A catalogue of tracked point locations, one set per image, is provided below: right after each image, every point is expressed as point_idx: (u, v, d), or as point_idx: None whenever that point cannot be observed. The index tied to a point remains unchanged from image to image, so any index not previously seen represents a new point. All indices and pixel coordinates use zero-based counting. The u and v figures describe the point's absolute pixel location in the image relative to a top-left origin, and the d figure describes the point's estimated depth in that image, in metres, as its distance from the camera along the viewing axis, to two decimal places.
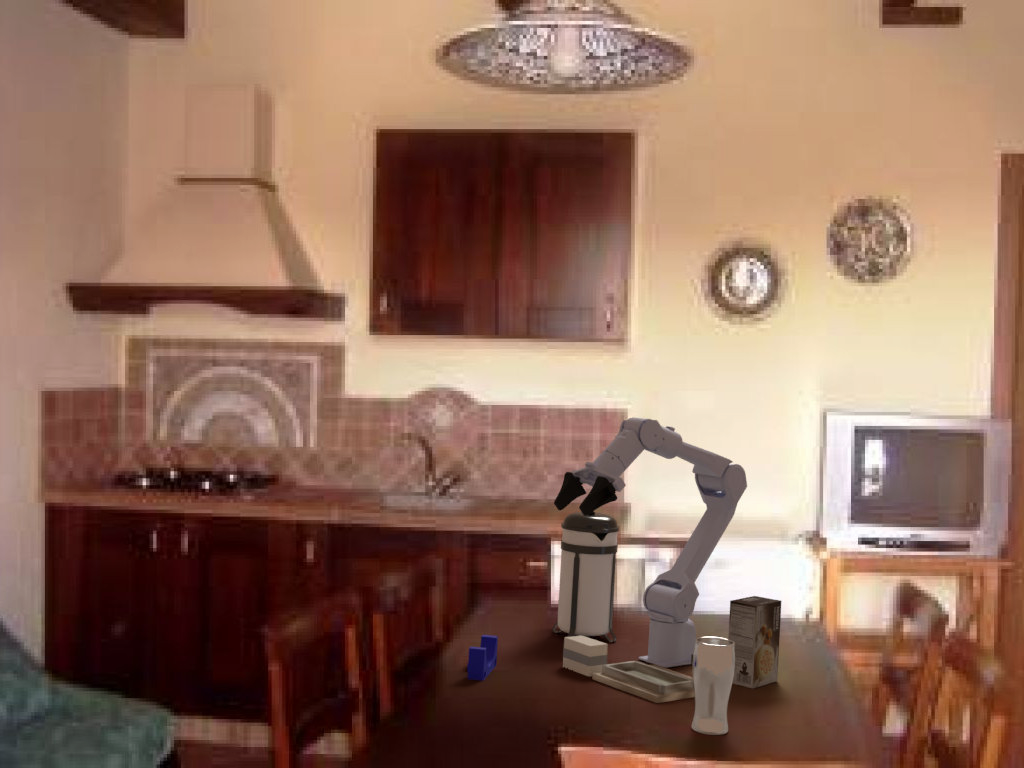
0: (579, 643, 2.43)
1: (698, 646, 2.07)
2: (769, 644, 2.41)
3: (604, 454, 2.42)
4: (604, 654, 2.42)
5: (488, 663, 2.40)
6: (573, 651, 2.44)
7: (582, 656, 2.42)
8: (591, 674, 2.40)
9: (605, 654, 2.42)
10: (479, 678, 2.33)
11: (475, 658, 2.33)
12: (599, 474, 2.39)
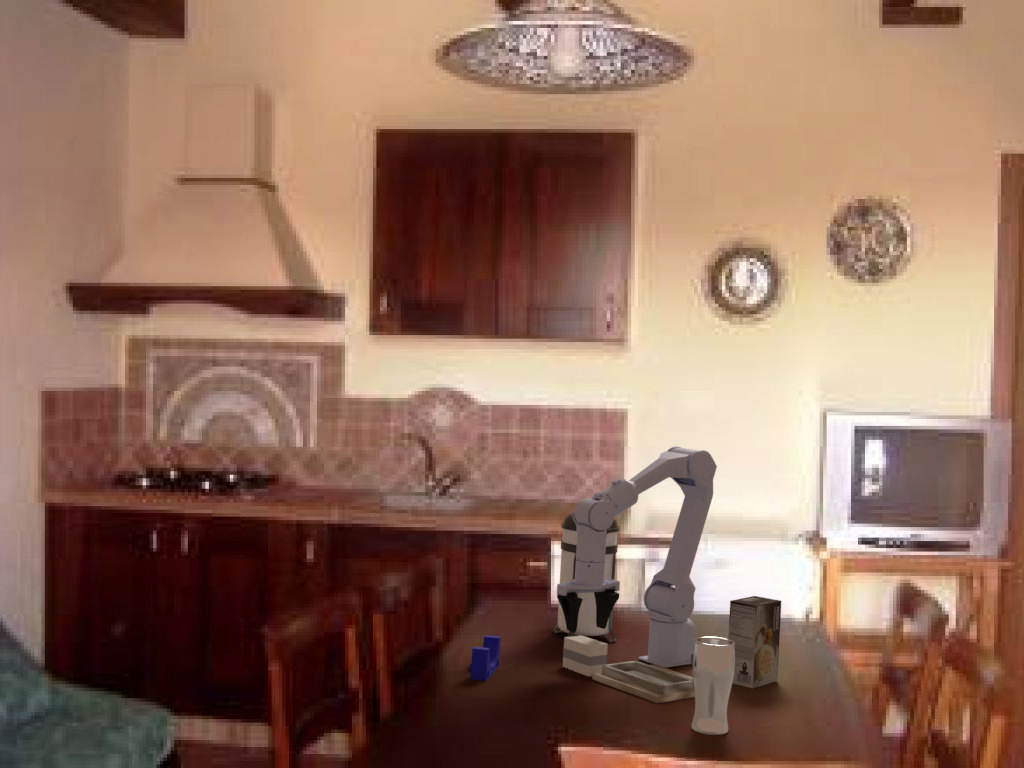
0: (579, 643, 2.43)
1: (698, 646, 2.07)
2: (769, 644, 2.41)
3: None
4: (604, 654, 2.42)
5: (491, 663, 2.40)
6: (573, 651, 2.44)
7: (582, 656, 2.42)
8: (591, 674, 2.40)
9: (605, 654, 2.42)
10: (482, 678, 2.33)
11: (478, 658, 2.33)
12: None
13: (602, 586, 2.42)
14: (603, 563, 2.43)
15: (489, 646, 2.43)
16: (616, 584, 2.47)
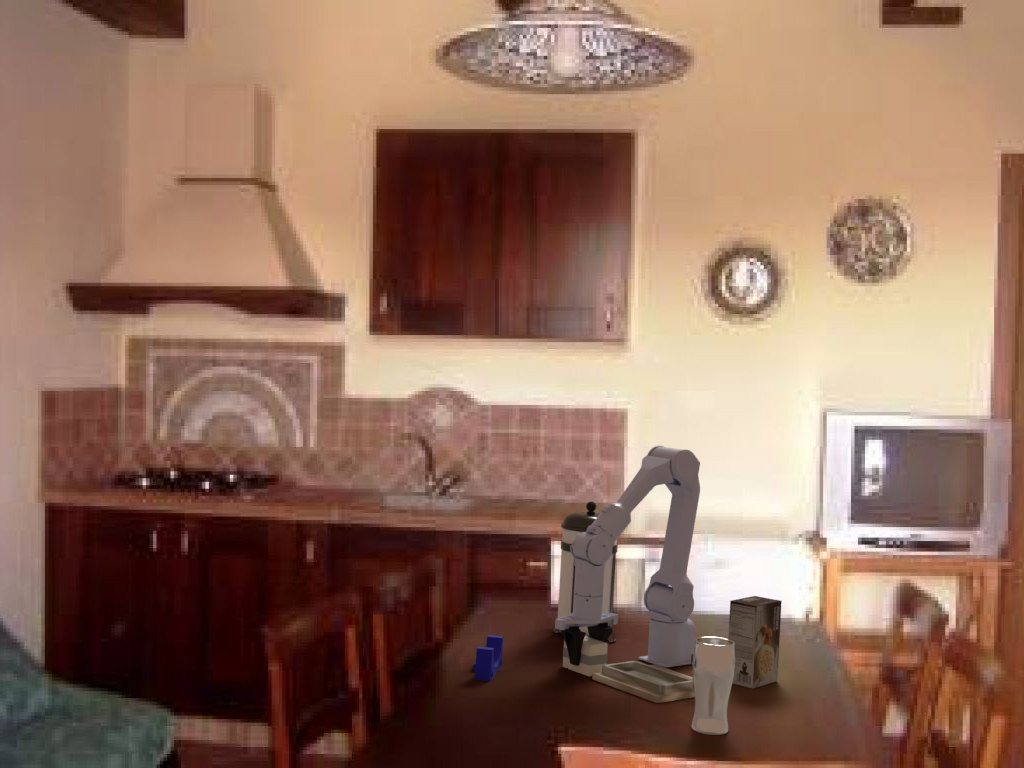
0: None
1: (698, 646, 2.07)
2: (769, 644, 2.41)
3: None
4: (604, 653, 2.42)
5: (494, 663, 2.40)
6: None
7: (582, 655, 2.42)
8: (591, 673, 2.40)
9: (605, 653, 2.42)
10: (486, 678, 2.33)
11: (483, 658, 2.33)
12: None
13: (600, 620, 2.43)
14: (601, 597, 2.43)
15: (492, 646, 2.43)
16: (614, 618, 2.47)
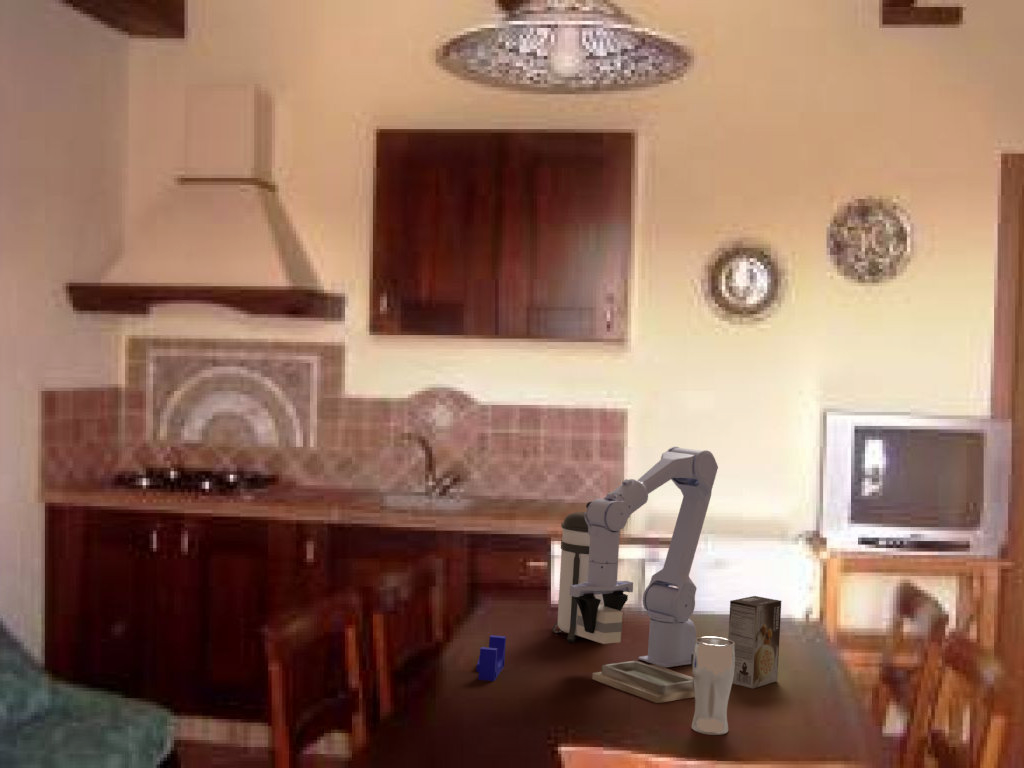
0: None
1: (698, 646, 2.07)
2: (769, 644, 2.41)
3: None
4: (619, 621, 2.40)
5: (497, 663, 2.40)
6: None
7: (597, 623, 2.39)
8: (605, 641, 2.38)
9: (620, 621, 2.40)
10: (490, 678, 2.33)
11: (486, 658, 2.33)
12: None
13: (615, 587, 2.40)
14: (616, 564, 2.41)
15: (495, 646, 2.43)
16: (629, 585, 2.45)
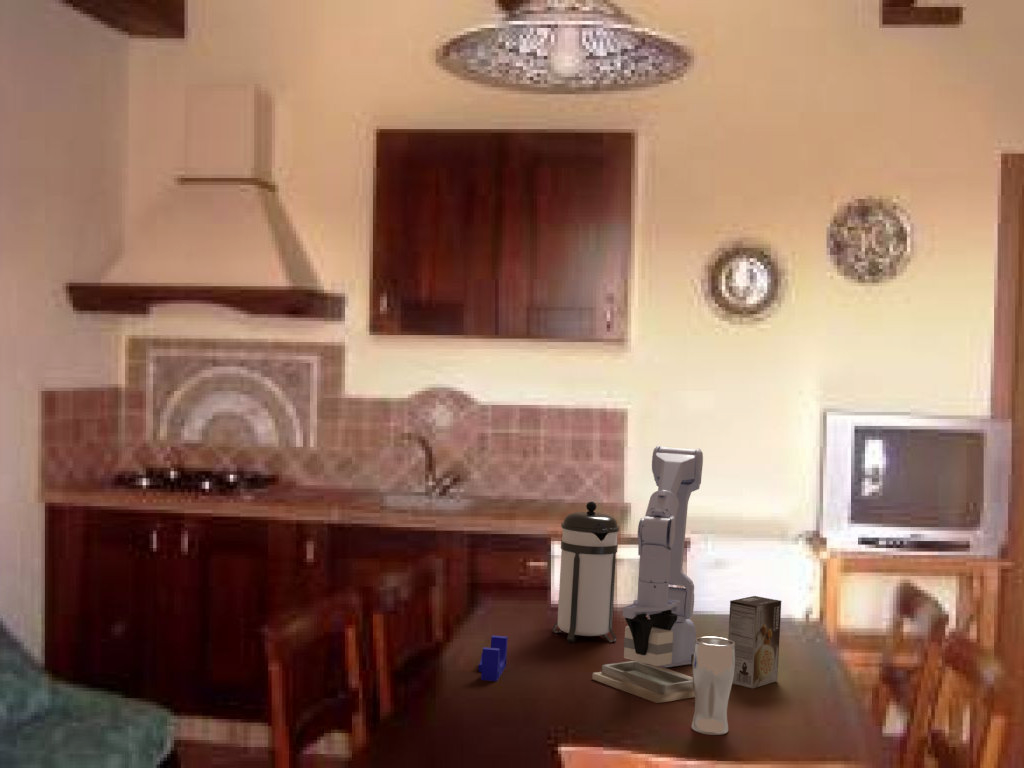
0: None
1: (698, 646, 2.07)
2: (769, 644, 2.41)
3: None
4: (670, 642, 2.33)
5: (499, 664, 2.40)
6: None
7: (648, 644, 2.31)
8: (659, 663, 2.30)
9: (671, 642, 2.33)
10: (493, 679, 2.33)
11: (489, 659, 2.33)
12: None
13: (667, 607, 2.33)
14: (668, 583, 2.33)
15: (497, 646, 2.43)
16: (677, 604, 2.38)
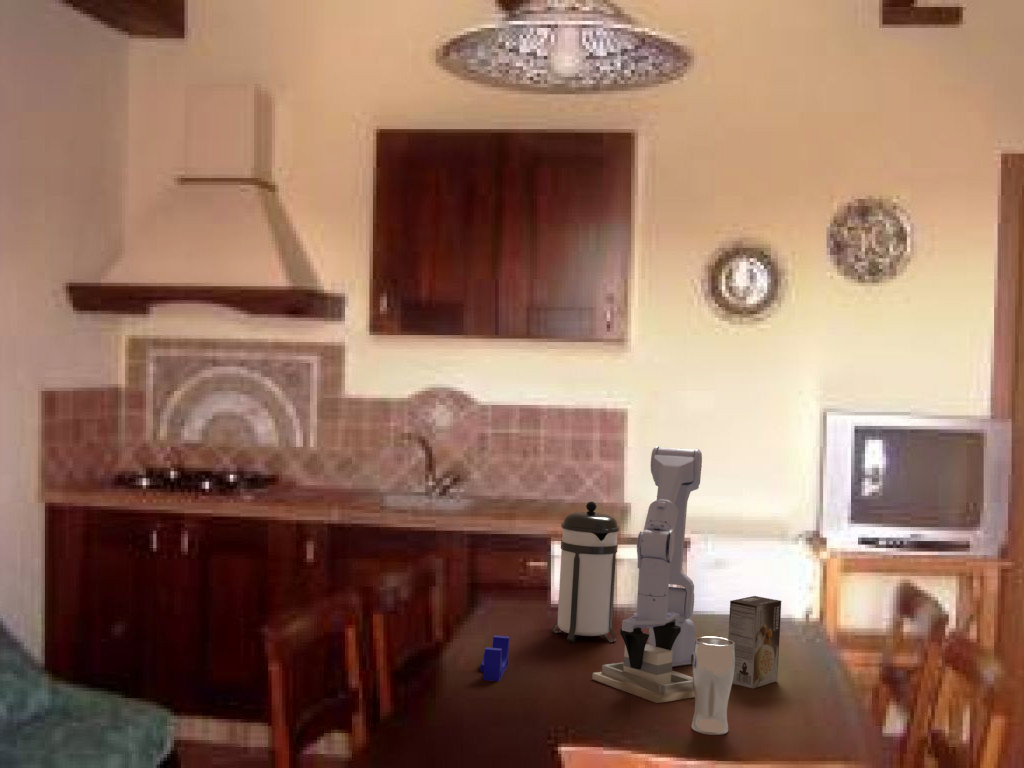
0: None
1: (698, 646, 2.07)
2: (769, 644, 2.41)
3: None
4: (669, 662, 2.33)
5: (501, 664, 2.40)
6: None
7: (648, 664, 2.32)
8: None
9: (670, 662, 2.33)
10: (495, 679, 2.33)
11: (491, 659, 2.33)
12: None
13: (666, 620, 2.33)
14: (667, 596, 2.33)
15: (499, 646, 2.43)
16: (676, 617, 2.38)
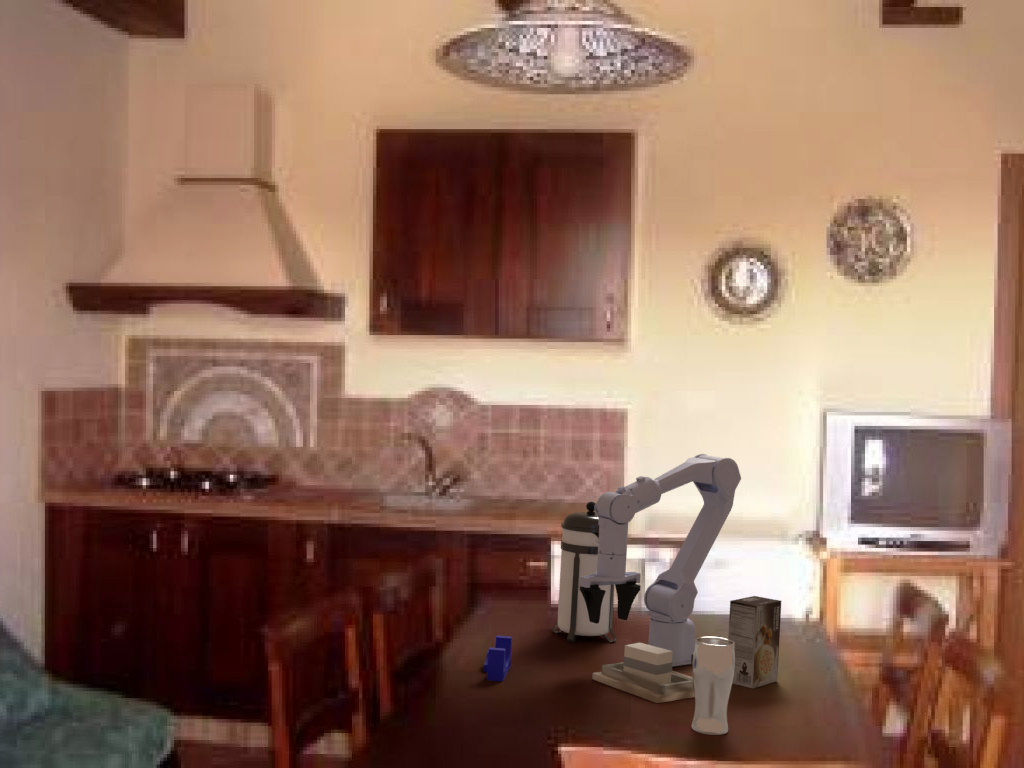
0: (643, 651, 2.32)
1: (698, 646, 2.07)
2: (769, 644, 2.41)
3: None
4: (669, 662, 2.33)
5: (504, 664, 2.40)
6: (637, 659, 2.34)
7: (648, 664, 2.32)
8: None
9: (670, 662, 2.33)
10: (499, 679, 2.33)
11: (495, 659, 2.33)
12: None
13: (624, 578, 2.46)
14: (625, 555, 2.46)
15: (501, 646, 2.43)
16: (637, 576, 2.51)
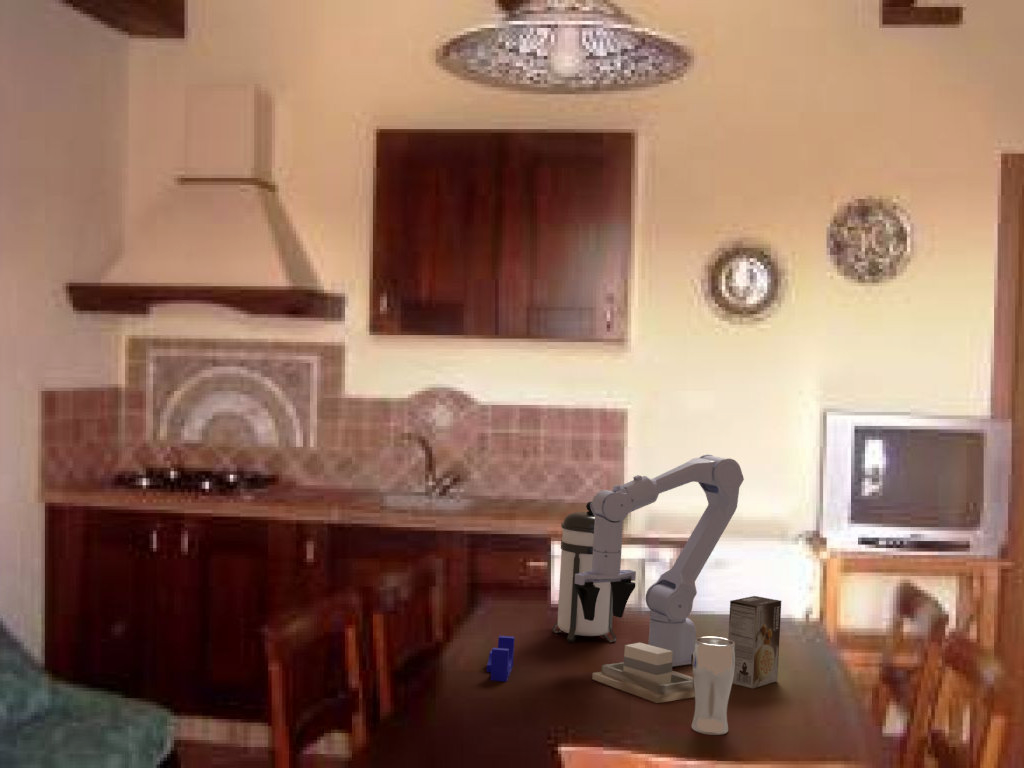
0: (643, 651, 2.32)
1: (698, 646, 2.07)
2: (769, 644, 2.41)
3: None
4: (669, 662, 2.33)
5: None
6: (637, 659, 2.34)
7: (648, 664, 2.32)
8: None
9: (670, 662, 2.33)
10: (502, 679, 2.33)
11: (498, 659, 2.33)
12: None
13: (619, 576, 2.48)
14: (620, 553, 2.48)
15: (504, 646, 2.43)
16: (632, 574, 2.52)
